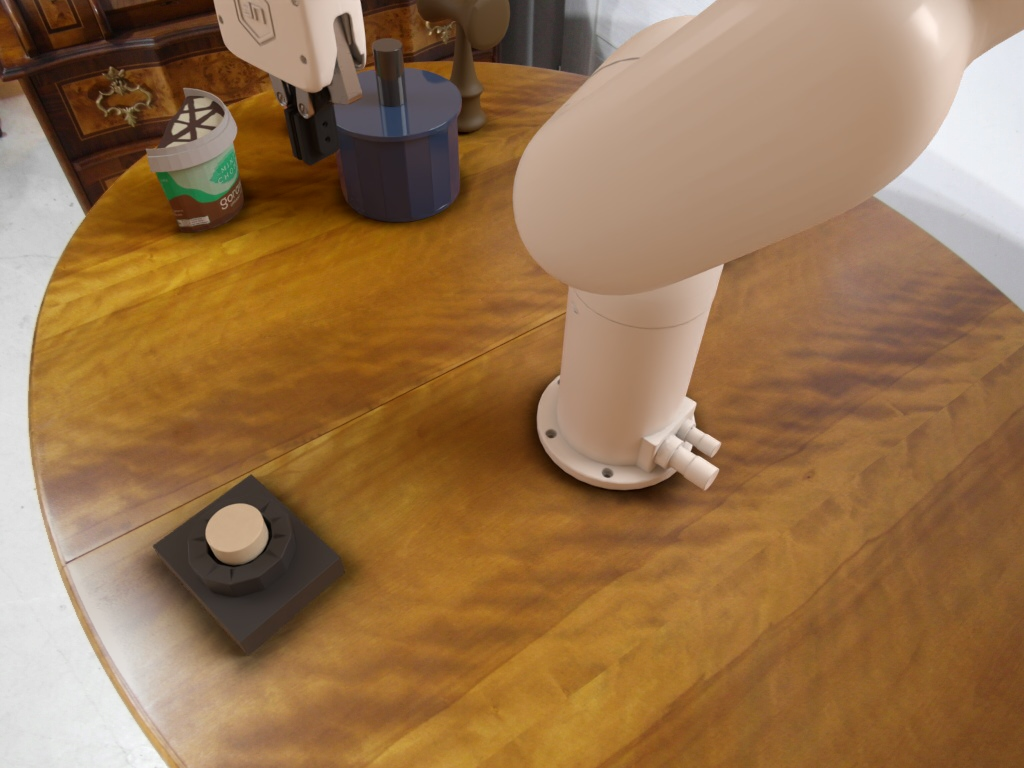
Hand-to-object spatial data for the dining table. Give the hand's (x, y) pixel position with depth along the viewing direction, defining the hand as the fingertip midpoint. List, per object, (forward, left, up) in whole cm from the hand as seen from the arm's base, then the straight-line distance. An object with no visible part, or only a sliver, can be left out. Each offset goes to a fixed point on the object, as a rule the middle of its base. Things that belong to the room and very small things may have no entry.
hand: (317, 153), depth 58 cm
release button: (-15, +21, -13) cm, 29 cm away
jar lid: (+11, -17, -7) cm, 22 cm away
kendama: (+15, -31, -17) cm, 39 cm away
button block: (-15, +21, -17) cm, 31 cm away
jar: (+11, -17, -17) cm, 26 cm away
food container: (+22, -2, -17) cm, 28 cm away
